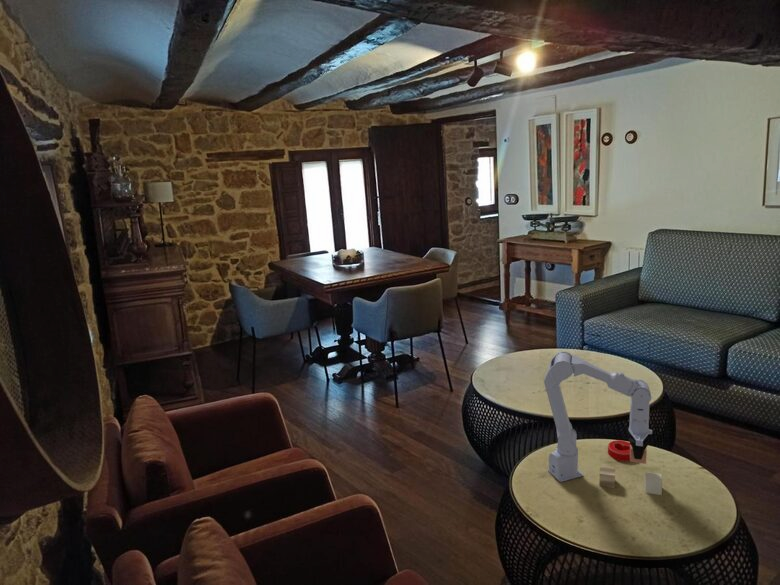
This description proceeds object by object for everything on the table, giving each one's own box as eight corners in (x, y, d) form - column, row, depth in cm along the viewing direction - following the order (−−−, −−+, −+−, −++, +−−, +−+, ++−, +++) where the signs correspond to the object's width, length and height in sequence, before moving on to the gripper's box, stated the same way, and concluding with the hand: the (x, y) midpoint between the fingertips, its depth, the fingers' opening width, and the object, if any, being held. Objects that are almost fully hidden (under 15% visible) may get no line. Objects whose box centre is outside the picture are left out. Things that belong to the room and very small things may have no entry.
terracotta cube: (646, 463, 178) (646, 450, 176) (630, 461, 180) (630, 448, 178) (645, 456, 182) (646, 443, 181) (629, 454, 184) (630, 441, 183)
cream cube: (661, 495, 175) (662, 482, 174) (645, 492, 177) (645, 480, 176) (660, 486, 179) (661, 474, 178) (644, 484, 181) (645, 471, 180)
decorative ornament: (608, 460, 196) (608, 452, 196) (607, 446, 205) (607, 438, 204) (637, 463, 193) (637, 455, 192) (634, 448, 202) (635, 441, 201)
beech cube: (614, 488, 180) (615, 475, 179) (599, 485, 182) (599, 473, 181) (614, 480, 185) (615, 467, 183) (599, 477, 186) (600, 465, 185)
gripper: (654, 429, 169) (652, 468, 172) (651, 408, 182) (649, 444, 185) (629, 427, 172) (628, 464, 175) (628, 406, 185) (627, 442, 188)
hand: (637, 454), depth 180 cm, fingers closed on terracotta cube, 5 cm apart
